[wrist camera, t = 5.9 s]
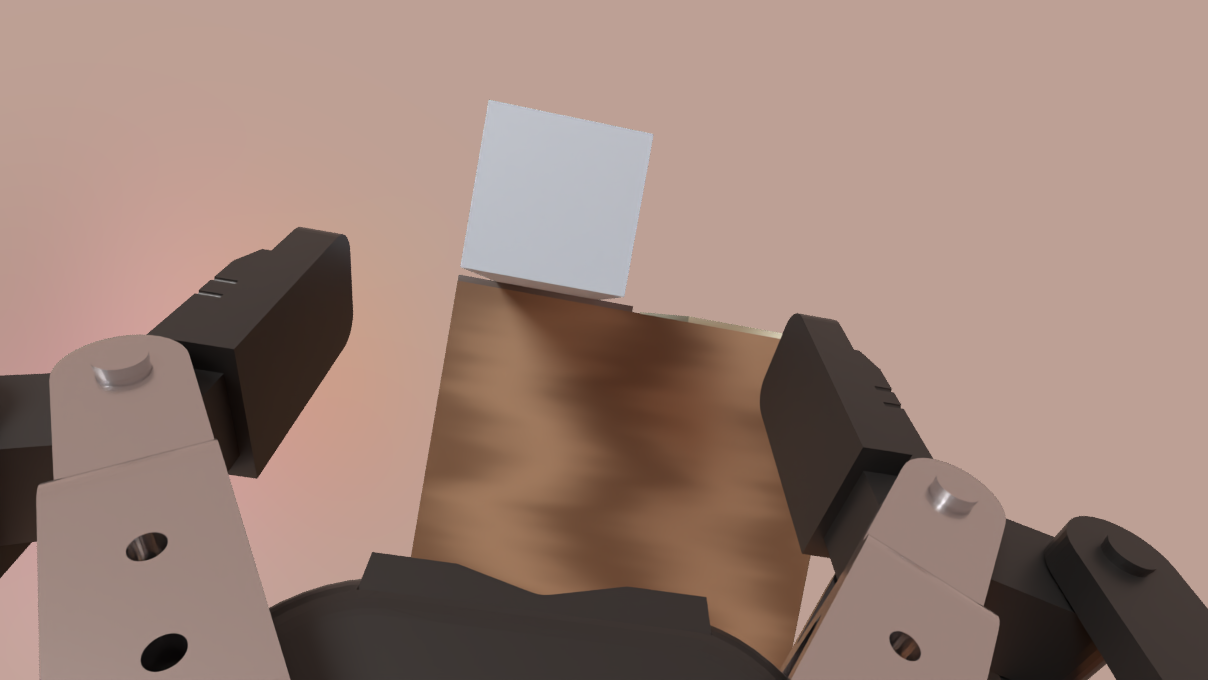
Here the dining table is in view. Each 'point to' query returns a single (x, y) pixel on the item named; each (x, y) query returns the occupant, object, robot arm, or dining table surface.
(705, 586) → the wooden block
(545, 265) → the lever
